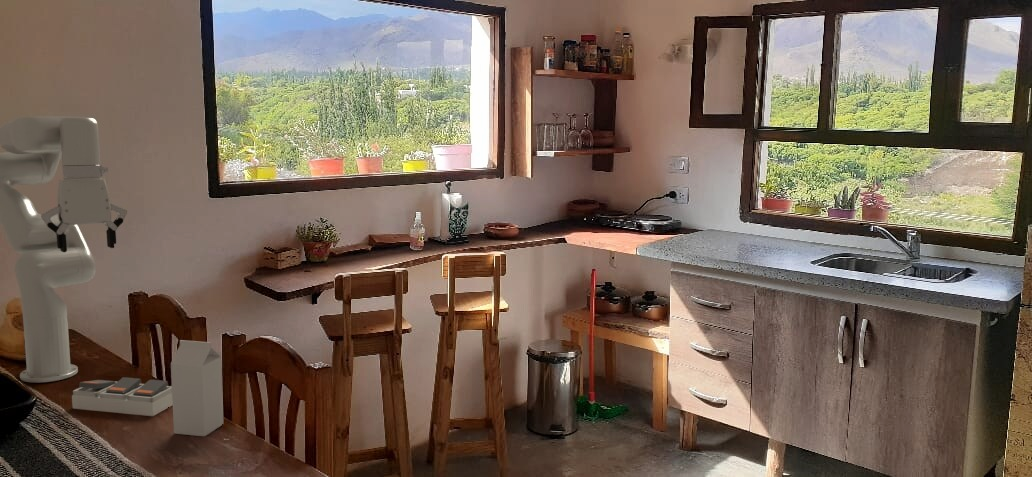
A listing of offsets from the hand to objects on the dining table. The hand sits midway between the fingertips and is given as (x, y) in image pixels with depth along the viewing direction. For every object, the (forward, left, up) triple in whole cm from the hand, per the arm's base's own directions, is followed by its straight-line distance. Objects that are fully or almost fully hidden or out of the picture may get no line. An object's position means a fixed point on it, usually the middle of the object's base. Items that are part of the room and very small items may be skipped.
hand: (87, 249), depth 185 cm
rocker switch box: (+10, +2, -35) cm, 36 cm away
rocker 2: (+10, +2, -30) cm, 32 cm away
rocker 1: (+4, -1, -30) cm, 30 cm away
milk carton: (+35, +7, -35) cm, 50 cm away
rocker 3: (+16, +6, -30) cm, 35 cm away
